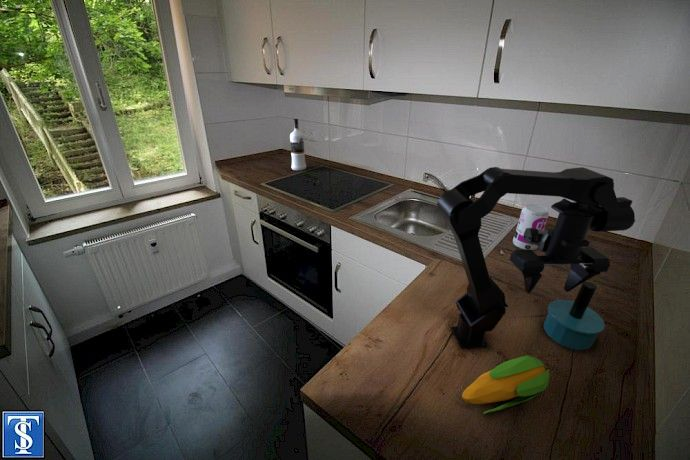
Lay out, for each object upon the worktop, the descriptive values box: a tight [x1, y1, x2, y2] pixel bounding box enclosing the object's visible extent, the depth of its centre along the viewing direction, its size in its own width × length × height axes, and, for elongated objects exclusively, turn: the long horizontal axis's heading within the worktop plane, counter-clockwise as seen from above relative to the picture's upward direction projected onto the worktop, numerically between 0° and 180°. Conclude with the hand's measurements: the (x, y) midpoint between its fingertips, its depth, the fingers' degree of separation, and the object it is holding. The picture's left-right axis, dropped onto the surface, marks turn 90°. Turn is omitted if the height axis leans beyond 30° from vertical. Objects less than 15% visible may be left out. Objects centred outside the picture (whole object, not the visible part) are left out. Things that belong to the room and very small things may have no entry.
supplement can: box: [512, 203, 550, 251], centre depth 111 cm, size 8×8×15 cm
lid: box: [547, 281, 606, 335], centre depth 73 cm, size 11×11×10 cm
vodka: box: [289, 118, 307, 172], centre depth 190 cm, size 9×9×30 cm
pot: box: [543, 311, 599, 351], centre depth 76 cm, size 10×10×5 cm
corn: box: [461, 354, 550, 415], centre depth 61 cm, size 7×8×20 cm
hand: (546, 291), depth 71 cm, fingers open, 9 cm apart
